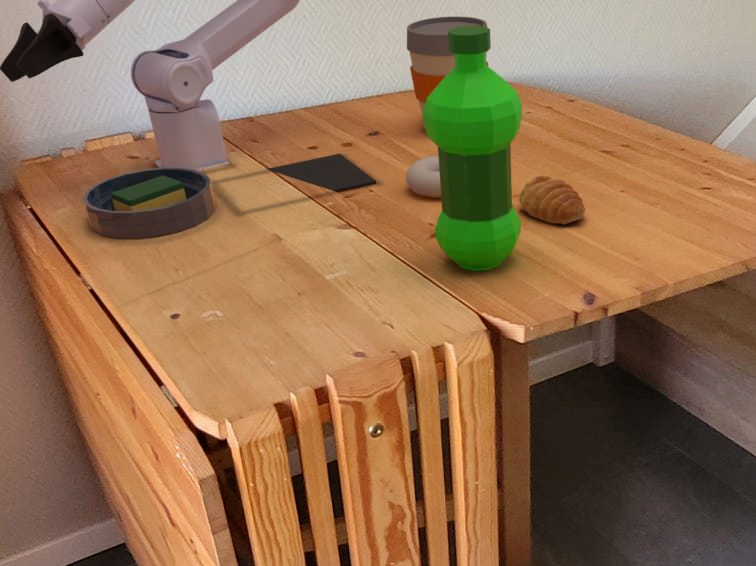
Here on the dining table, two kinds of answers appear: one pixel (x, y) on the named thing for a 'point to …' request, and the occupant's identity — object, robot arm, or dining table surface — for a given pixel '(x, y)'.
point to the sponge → (149, 195)
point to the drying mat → (327, 173)
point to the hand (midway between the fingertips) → (14, 73)
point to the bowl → (149, 220)
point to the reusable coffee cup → (433, 52)
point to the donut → (425, 177)
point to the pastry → (551, 200)
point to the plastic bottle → (474, 154)
